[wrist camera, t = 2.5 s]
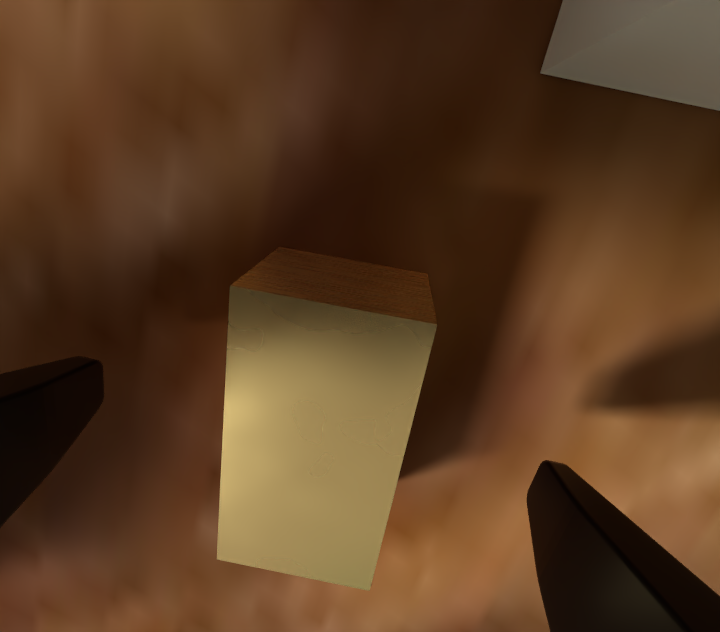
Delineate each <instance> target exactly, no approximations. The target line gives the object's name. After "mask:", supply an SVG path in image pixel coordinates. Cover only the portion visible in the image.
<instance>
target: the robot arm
mask: <svg viewBox="0 0 720 632" xmlns="http://www.w3.org/2000/svg"><path fill="white" fill-rule="evenodd" d="M103 398H104V381H103V366H102V364H101V362H100V361H99V360H96V359H91V358H87V357H82V356H77V357H72V358H68V359H63V360H59V361H55V362H50V363H46V364H42V365H37V366H33V367H28V368H24V369H20V370H15V371H11V372H7V373H2V374H0V527H1V526H2V525H3V524H4V523H5V522H6V521H7V520H8V519H9V517H10V516H11V515H12V514H13V513H14V512H15V511H16V510H17V509H18V508H19V506H20V505H21V504H22V503H23V502H24V501H25V500H26V499H27V498H28V497H29V496H30V494H31V493H32V492H33V491H34V490H35V489H36V488H37V487H38V486H39V485H40V483H41V482H42V481H43V480H44V479H45V478H46V477H47V475H48V474H49V473H50V472H51V471H52V470H53V468H54V467H55V466H56V465H57V463H58V462H59V461H60V460H61V458H62V457H63V456H64V454H65V453H66V452H67V450H68V449H69V448H70V446H71V445H72V444H73V442H74V441H75V440H76V438H77V437H78V436H79V434H80V433H81V432H82V430H83V429H84V428H85V426H86V425H87V424H88V422H89V421H90V420H91V418H92V417H93V416H94V414H95V413H96V412H97V410H98V409H99V408H100V406H101V404H102V402H103ZM527 508H528V515H529V522H530V529H531V536H532V543H533V551H534V558H535V565H536V571H537V577H538V582H539V587H540V591H541V596H542V600H543V604H544V608H545V612H546V616H547V620H548V624H549V628H550V632H720V596H719V595H718V594H717V593H715V592H714V591H713V590H712V589H711V588H710V587H708V586H707V585H706V584H705V583H704V582H703V581H701V580H700V579H699V578H698V577H697V576H696V575H694V574H693V573H692V572H691V571H690V570H689V569H687V568H686V567H685V566H684V565H683V564H682V563H680V562H679V561H678V560H677V559H676V558H675V557H673V556H672V555H671V554H670V553H669V552H668V551H666V550H665V549H664V548H663V547H662V546H661V545H659V544H658V543H657V542H656V541H655V540H654V539H652V538H651V537H650V536H649V535H648V534H647V533H645V532H644V531H643V530H642V529H641V528H640V527H638V526H637V525H636V524H635V523H634V522H633V521H631V520H630V519H629V518H628V517H627V516H626V515H624V514H623V513H622V512H621V511H620V510H619V509H617V508H616V507H615V506H614V505H613V504H611V503H610V502H609V501H608V500H607V499H606V498H604V497H603V496H602V495H601V494H600V493H599V492H597V491H596V490H595V489H594V488H593V487H592V486H590V485H589V484H588V483H587V482H586V481H585V480H583V479H582V478H581V477H580V476H579V475H578V474H576V473H575V472H574V471H573V470H572V469H571V468H569V467H568V466H567V465H565V464H563V463H558V462H553V461H549V460H545V461H543V462H542V463H541V464H540V466H539V468H538V470H537V472H536V474H535V477H534V479H533V481H532V483H531V485H530V487H529V490H528V493H527Z"/></svg>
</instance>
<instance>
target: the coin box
mask: <svg viewBox="0 0 720 632" xmlns="http://www.w3.org/2000/svg"><path fill="white" fill-rule="evenodd" d="M540 73H541V74H545V75H550V76H555V77H560V78H565V79H569V80H574V81H579V82H584V83H588V84H593V85H598V86H603V87H608V88H612V89H617V90H622V91H627V92H632V93H636V94H641V95H646V96H651V97H656V98H660V99H665V100H670V101H675V102H680V103H684V104H689V105H694V106H699V107H704V108H708V109H713V110H718V111H720V0H563V2H562V5H561V8H560V11H559V14H558V18H557V21H556V24H555V27H554V30H553V33H552V37H551V40H550V43H549V46H548V49H547V52H546V56H545V59H544V62H543V65H542V68H541V72H540Z"/></svg>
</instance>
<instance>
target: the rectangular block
mask: <svg viewBox="0 0 720 632" xmlns="http://www.w3.org/2000/svg"><path fill="white" fill-rule="evenodd" d="M436 328H437V320H436V315H435V310H434V305H433V300H432V295H431V290H430V285H429V279H428V274H426V273H421V272H415V271H410V270H405V269H399V268H394V267H388V266H383V265H377V264H372V263H367V262H361V261H356V260H350V259H345V258H339V257H334V256H329V255H323V254H318V253H312V252H307V251H301V250H296V249H291V248H285V247H278V248H277V249H276V250H275V251H273V252H272V253H271V254H269V255H268V256H267V257H266V258H264V259H263V260H262V261H261V262H259V263H258V264H257V265H256V266H254V267H253V268H252V269H250V270H249V271H248V272H247V273H245V274H244V275H243V276H242V277H240V278H239V279H238V280H237V281H235V282H234V283H233V284H231V285H230V295H229V315H228V336H227V357H226V378H225V399H224V420H223V441H222V461H221V482H220V503H219V524H218V545H217V559H218V560H223V561H228V562H233V563H237V564H242V565H247V566H252V567H257V568H262V569H267V570H271V571H276V572H281V573H286V574H291V575H296V576H301V577H305V578H310V579H315V580H320V581H325V582H330V583H334V584H339V585H344V586H349V587H354V588H359V589H364V590H368V591H370V587H371V583H372V579H373V575H374V571H375V567H376V563H377V559H378V556H379V552H380V548H381V544H382V540H383V536H384V532H385V528H386V524H387V520H388V516H389V512H390V508H391V505H392V501H393V497H394V493H395V489H396V485H397V481H398V477H399V473H400V469H401V465H402V461H403V457H404V454H405V450H406V446H407V442H408V438H409V434H410V430H411V426H412V422H413V418H414V414H415V410H416V406H417V403H418V399H419V395H420V391H421V387H422V383H423V379H424V375H425V371H426V367H427V363H428V359H429V355H430V352H431V348H432V344H433V340H434V336H435V332H436Z"/></svg>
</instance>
